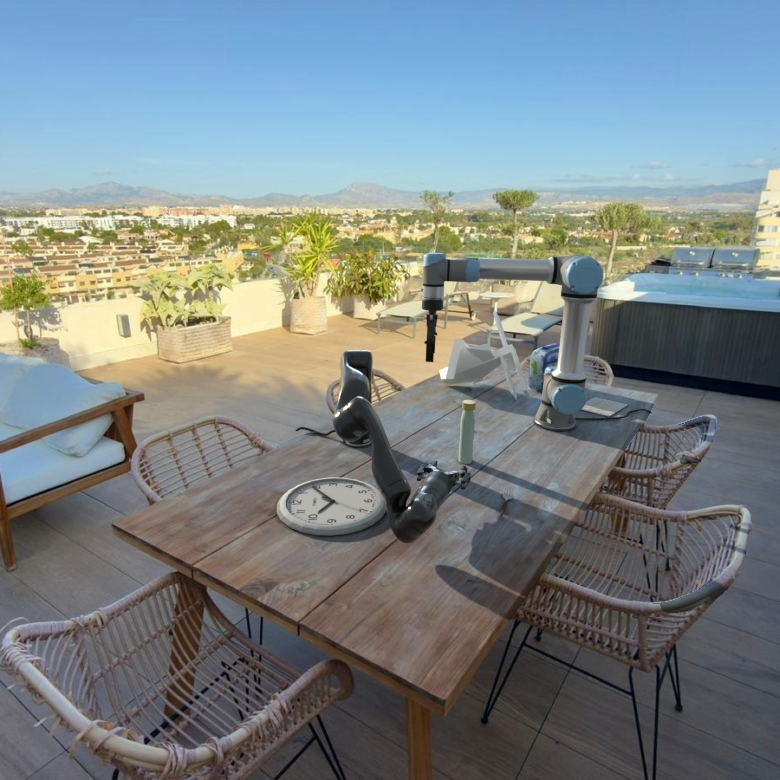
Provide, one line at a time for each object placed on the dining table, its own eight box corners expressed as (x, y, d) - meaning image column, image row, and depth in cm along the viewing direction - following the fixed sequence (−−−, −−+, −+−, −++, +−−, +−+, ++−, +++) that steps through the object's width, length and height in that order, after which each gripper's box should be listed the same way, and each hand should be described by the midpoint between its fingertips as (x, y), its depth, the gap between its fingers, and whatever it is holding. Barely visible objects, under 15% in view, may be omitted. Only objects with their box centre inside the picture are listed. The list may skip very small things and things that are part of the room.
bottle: (460, 457, 174) (464, 400, 168) (473, 459, 172) (477, 402, 166) (456, 462, 170) (459, 404, 164) (469, 465, 169) (473, 406, 163)
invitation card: (608, 416, 214) (573, 407, 224) (608, 416, 214) (573, 408, 224) (628, 404, 229) (594, 396, 238) (628, 405, 229) (594, 397, 238)
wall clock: (392, 527, 129) (268, 531, 127) (391, 533, 130) (269, 537, 127) (383, 473, 158) (282, 475, 155) (383, 478, 158) (282, 480, 156)
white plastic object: (461, 429, 252) (437, 405, 227) (444, 352, 274) (420, 323, 250) (535, 404, 240) (518, 377, 215) (510, 326, 262) (492, 293, 237)
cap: (464, 405, 168) (464, 399, 168) (476, 407, 167) (477, 401, 166) (460, 409, 165) (460, 402, 164) (472, 411, 163) (473, 404, 163)
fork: (495, 518, 138) (496, 511, 137) (504, 491, 152) (505, 484, 151) (505, 520, 137) (506, 513, 136) (513, 492, 151) (514, 486, 150)
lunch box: (544, 395, 239) (549, 351, 233) (524, 390, 247) (528, 347, 240) (571, 384, 257) (577, 343, 251) (552, 380, 264) (556, 339, 258)
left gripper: (407, 498, 139) (426, 473, 154) (459, 508, 134) (473, 482, 149) (408, 472, 137) (427, 449, 152) (461, 482, 132) (475, 458, 147)
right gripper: (424, 293, 195) (422, 349, 202) (419, 302, 172) (417, 365, 178) (444, 294, 195) (441, 350, 201) (442, 303, 171) (439, 366, 177)
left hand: (450, 465), depth 150 cm, fingers open, 8 cm apart
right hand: (430, 357), depth 190 cm, fingers open, 13 cm apart
